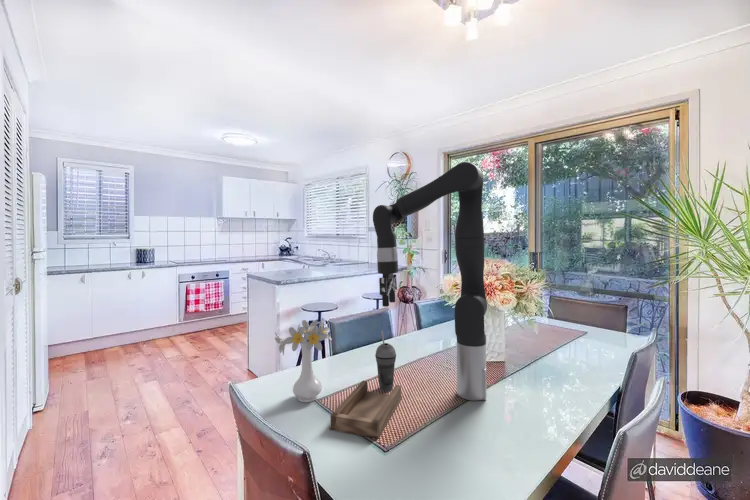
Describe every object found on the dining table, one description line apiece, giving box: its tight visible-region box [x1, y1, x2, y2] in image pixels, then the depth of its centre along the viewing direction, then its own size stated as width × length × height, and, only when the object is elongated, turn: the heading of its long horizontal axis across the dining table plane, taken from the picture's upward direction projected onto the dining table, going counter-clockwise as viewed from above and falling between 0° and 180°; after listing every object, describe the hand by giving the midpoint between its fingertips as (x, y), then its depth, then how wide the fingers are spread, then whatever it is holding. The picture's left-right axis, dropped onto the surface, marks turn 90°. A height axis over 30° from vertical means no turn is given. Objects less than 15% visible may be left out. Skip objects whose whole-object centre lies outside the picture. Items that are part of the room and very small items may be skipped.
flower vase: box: [274, 319, 333, 403], centre depth 111 cm, size 13×18×25 cm
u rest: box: [329, 380, 403, 440], centre depth 102 cm, size 14×24×4 cm, turn 161°
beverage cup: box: [374, 330, 397, 392], centre depth 118 cm, size 7×7×20 cm
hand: (389, 304), depth 127 cm, fingers open, 8 cm apart
